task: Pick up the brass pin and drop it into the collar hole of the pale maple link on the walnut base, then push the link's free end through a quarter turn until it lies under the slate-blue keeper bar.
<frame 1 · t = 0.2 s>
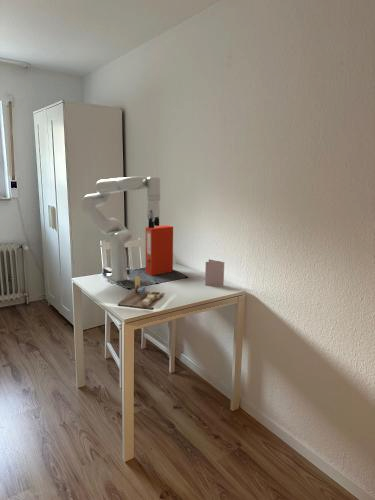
hand: (154, 226, 214), 36 cm above the table, tool pointing down, fingers open, 9 cm apart
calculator: (116, 273, 245), on the table
base plate: (142, 300, 194), on the table
link: (151, 297, 190), point 3 cm above the table, hinge at 90.0°
file binder: (159, 272, 249), on the table
pin: (137, 292, 203), point 1 cm above the table, touching base plate
keeper: (141, 295, 198), resting on base plate
greeting card: (213, 285, 223), on the table
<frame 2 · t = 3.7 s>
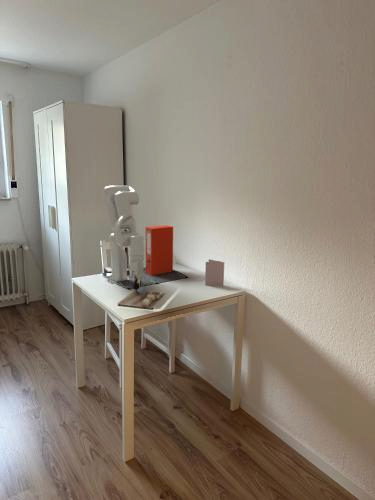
hand: (137, 288, 202), 4 cm above the table, tool pointing down, fingers closed on pin, 2 cm apart
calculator: (116, 274, 244), on the table
pin: (137, 292, 203), point 1 cm above the table, touching base plate, gripper
everything else where it was.
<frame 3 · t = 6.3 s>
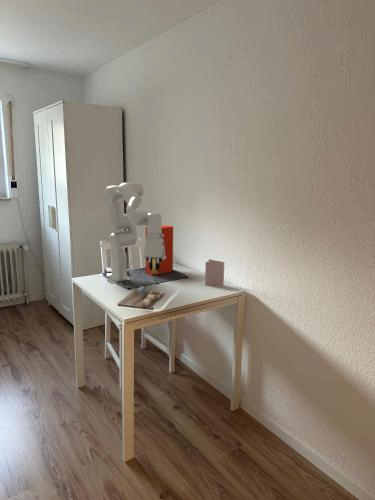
hand: (154, 269, 192), 17 cm above the table, tool pointing down, fingers closed on pin, 2 cm apart
pin: (154, 273, 193), point 15 cm above the table, touching gripper
when the fingers open (4 cm above the table, at t = 8.9 s): pin stays where it is, resting on base plate.
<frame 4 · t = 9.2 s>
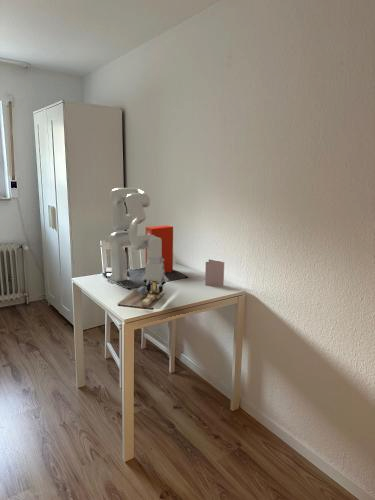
hand: (154, 291, 195), 4 cm above the table, tool pointing down, fingers open, 6 cm apart
pin: (154, 296, 196), point 2 cm above the table, touching base plate
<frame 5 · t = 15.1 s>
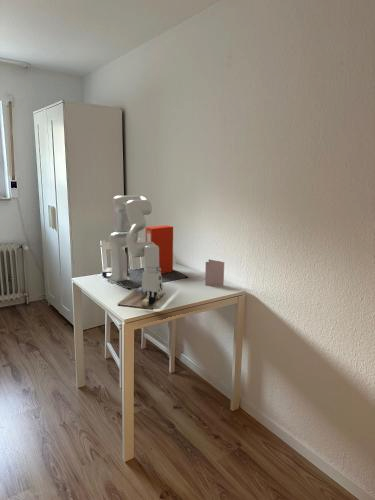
hand: (152, 303, 183), 2 cm above the table, tool pointing down, fingers closed
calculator: (115, 275, 241), on the table
link: (150, 297, 190), point 3 cm above the table, hinge at 89.3°, touching gripper
everything else where it was.
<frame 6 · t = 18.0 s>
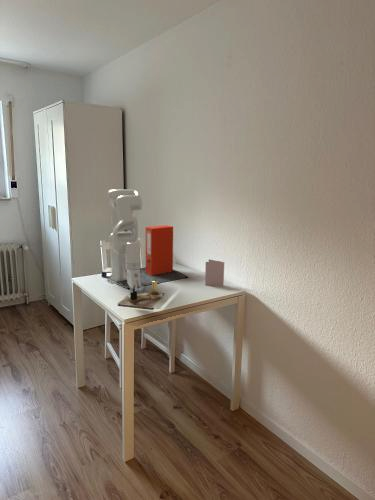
hand: (133, 299, 187), 3 cm above the table, tool pointing down, fingers closed
link: (144, 295, 193), point 3 cm above the table, hinge at 41.5°, touching gripper
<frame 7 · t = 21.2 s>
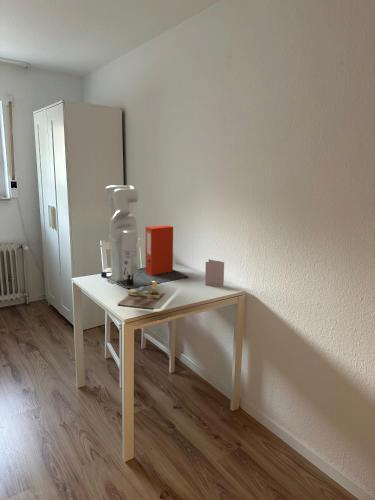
hand: (130, 285, 195), 8 cm above the table, tool pointing down, fingers closed
link: (144, 293, 197), point 3 cm above the table, hinge at 2.1°
everything else where it was.
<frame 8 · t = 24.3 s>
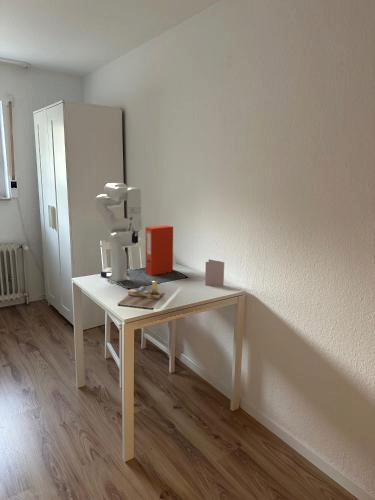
hand: (135, 242, 202), 29 cm above the table, tool pointing down, fingers closed
nothing on the table moved.
at the end: pin 0.1 cm off-centre on the link, point 0.0 cm above the link's base; link at +2° (first picture: +90°); pin tilted 0° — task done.
